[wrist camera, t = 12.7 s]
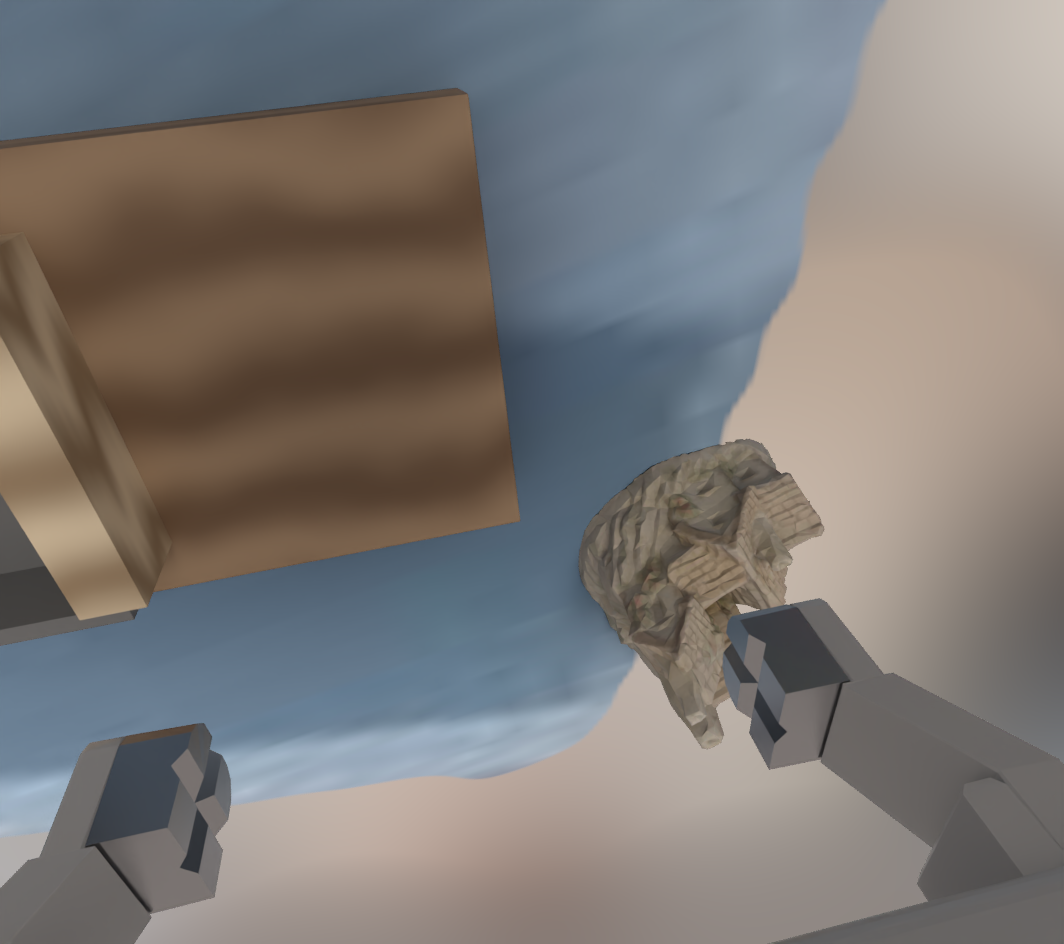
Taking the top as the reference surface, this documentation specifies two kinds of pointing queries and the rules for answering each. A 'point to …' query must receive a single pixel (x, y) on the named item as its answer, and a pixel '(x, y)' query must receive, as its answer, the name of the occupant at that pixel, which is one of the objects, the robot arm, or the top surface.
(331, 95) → the top surface
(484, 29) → the top surface
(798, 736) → the robot arm
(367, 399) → the plate
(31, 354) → the bar
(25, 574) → the box
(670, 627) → the ceramic cottage
